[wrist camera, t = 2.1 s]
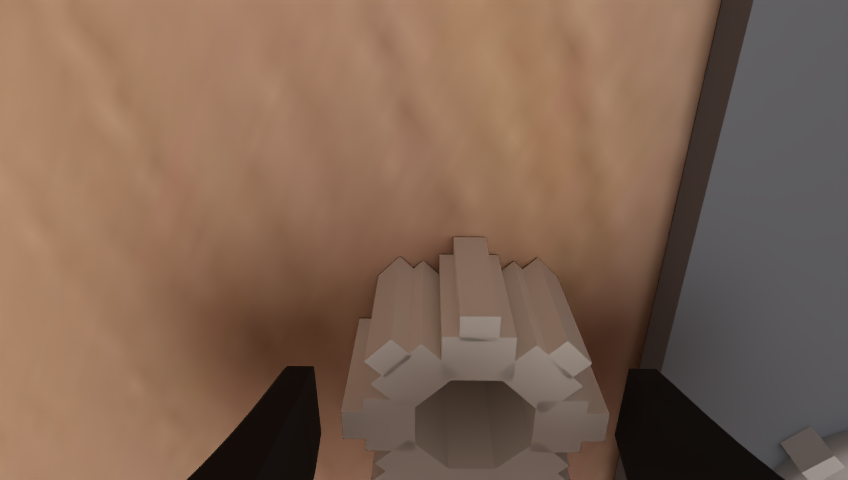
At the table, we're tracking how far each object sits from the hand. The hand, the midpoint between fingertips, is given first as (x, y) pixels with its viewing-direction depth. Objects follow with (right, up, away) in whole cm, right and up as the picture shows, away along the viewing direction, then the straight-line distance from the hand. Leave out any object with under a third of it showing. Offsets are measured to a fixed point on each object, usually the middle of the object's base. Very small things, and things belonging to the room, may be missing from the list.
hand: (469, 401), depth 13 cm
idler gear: (0, +1, +2) cm, 3 cm away
